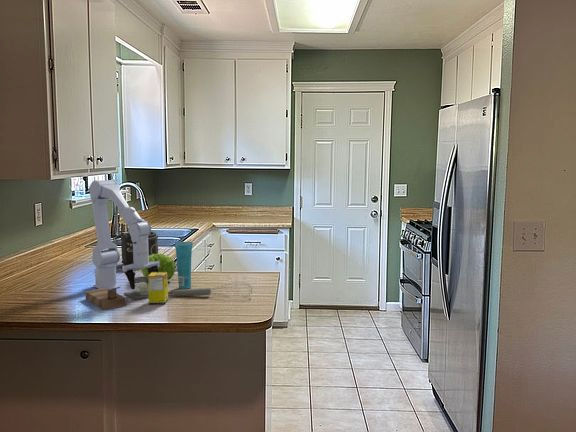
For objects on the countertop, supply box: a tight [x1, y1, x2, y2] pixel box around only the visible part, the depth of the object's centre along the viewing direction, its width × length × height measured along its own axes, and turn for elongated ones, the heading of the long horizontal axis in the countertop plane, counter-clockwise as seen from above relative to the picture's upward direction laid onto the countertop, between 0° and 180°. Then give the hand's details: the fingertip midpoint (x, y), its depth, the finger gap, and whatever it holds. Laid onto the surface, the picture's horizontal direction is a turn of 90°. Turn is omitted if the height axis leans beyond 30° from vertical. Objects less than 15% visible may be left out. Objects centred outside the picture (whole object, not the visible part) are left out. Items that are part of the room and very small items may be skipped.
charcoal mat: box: [123, 290, 149, 301], centre depth 203 cm, size 11×10×1 cm
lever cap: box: [132, 281, 149, 296], centre depth 203 cm, size 7×4×4 cm, turn 40°
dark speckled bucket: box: [120, 231, 159, 266], centre depth 259 cm, size 18×18×16 cm
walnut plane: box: [84, 288, 127, 311], centre depth 193 cm, size 18×8×6 cm, turn 40°
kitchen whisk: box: [168, 281, 253, 299], centre depth 201 cm, size 6×33×6 cm, turn 87°
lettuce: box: [140, 253, 176, 281], centre depth 228 cm, size 13×22×14 cm
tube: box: [174, 240, 194, 290], centre depth 213 cm, size 7×5×19 cm, turn 89°
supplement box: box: [147, 272, 169, 306], centre depth 192 cm, size 6×6×11 cm
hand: (142, 287), depth 203 cm, fingers open, 7 cm apart
